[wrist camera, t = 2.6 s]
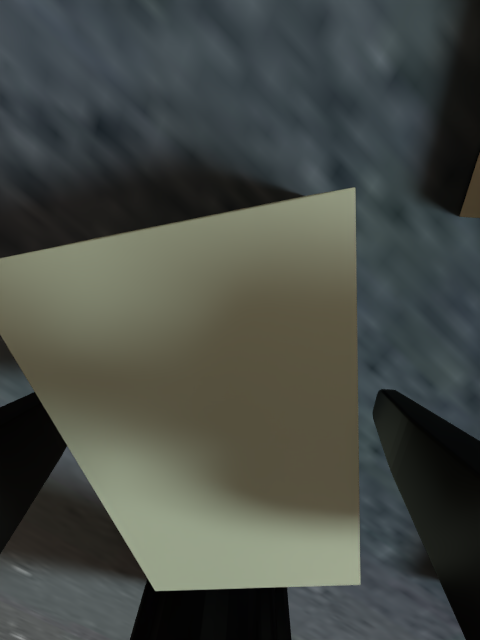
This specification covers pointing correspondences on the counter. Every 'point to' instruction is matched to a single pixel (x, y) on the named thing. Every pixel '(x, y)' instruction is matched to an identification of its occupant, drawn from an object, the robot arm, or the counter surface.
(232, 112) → the counter surface
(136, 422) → the green block
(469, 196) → the birch board
